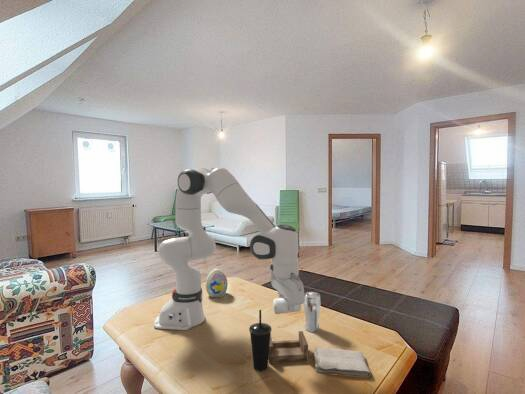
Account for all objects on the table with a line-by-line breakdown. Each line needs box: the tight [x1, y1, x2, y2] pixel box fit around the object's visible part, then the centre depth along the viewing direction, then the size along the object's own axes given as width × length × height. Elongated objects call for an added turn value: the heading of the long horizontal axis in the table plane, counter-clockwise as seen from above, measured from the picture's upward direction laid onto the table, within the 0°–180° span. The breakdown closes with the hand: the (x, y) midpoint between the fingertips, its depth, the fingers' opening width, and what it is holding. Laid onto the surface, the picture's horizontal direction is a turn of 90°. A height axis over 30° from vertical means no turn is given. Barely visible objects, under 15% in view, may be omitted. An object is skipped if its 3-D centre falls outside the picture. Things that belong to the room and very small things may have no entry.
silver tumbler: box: [303, 291, 321, 333], centre depth 120 cm, size 7×7×15 cm
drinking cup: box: [248, 309, 272, 372], centre depth 95 cm, size 8×8×20 cm
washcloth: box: [313, 347, 372, 378], centre depth 97 cm, size 12×18×3 cm, turn 83°
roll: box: [272, 297, 302, 315], centre depth 101 cm, size 9×5×5 cm
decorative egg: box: [205, 268, 229, 299], centre depth 157 cm, size 12×12×15 cm
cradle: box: [268, 330, 309, 364], centre depth 102 cm, size 14×9×6 cm, turn 94°
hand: (286, 306), depth 101 cm, fingers closed on roll, 6 cm apart
